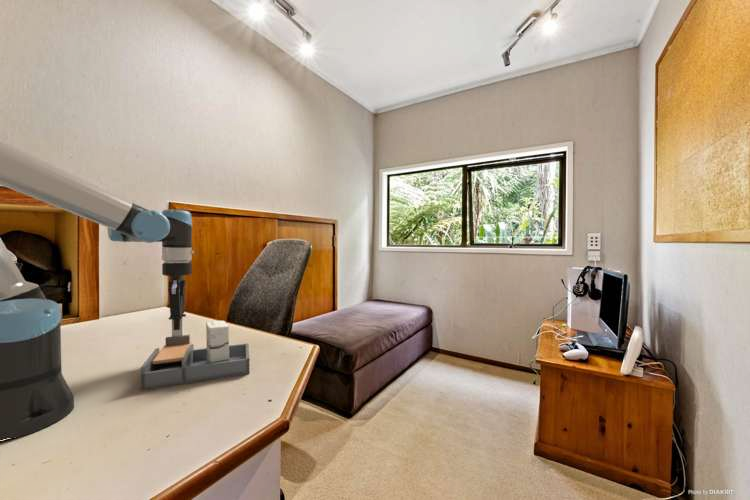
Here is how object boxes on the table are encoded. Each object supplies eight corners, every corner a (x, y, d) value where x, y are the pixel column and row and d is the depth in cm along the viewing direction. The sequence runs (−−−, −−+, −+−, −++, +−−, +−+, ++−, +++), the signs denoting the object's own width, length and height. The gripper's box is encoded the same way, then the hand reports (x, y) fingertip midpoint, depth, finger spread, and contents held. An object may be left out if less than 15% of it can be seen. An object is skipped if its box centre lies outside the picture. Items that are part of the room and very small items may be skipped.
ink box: (230, 368, 84) (229, 325, 83) (209, 372, 81) (209, 328, 80) (224, 358, 91) (224, 319, 90) (205, 362, 88) (205, 321, 87)
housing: (141, 390, 73) (140, 367, 73) (156, 368, 86) (155, 348, 86) (249, 373, 83) (249, 353, 82) (248, 355, 95) (248, 338, 95)
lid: (152, 364, 78) (152, 351, 78) (164, 347, 91) (164, 337, 90) (184, 360, 81) (184, 348, 81) (191, 344, 93) (191, 334, 93)
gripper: (188, 263, 87) (188, 344, 88) (194, 260, 99) (194, 332, 100) (157, 263, 84) (157, 348, 85) (167, 260, 96) (167, 335, 97)
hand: (177, 339), depth 92 cm, fingers closed
